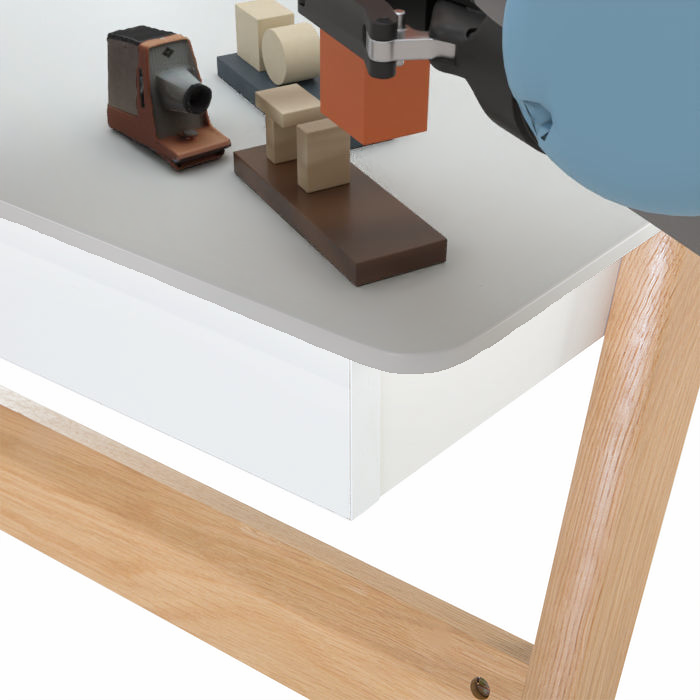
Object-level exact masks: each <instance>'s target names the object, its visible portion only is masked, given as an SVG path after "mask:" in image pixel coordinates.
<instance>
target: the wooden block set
mask: <svg viewBox="0 0 700 700" xmlns="http://www.w3.org/2000/svg"><path fill="white" fill-rule="evenodd" d="M234 15H235V16H234V17H235V35H236V37H235V38H236V52H234V53H228V54H223V55H217V56H216V70H217V76H218V77H219V78H221V79H222V80H223V81H224V82H225V83H227V84H228V85H229V86H230V87H232V88H233V89H234V90H235V91H236V92H238V94H240V95H241V96H242V97H243V98H245V99H246V100H247V101H249V102H250V103H251V104H253V106H255V107H256V104H255V92H257V91H262V90H266V89H271V88H276V87H281V86H286V85H291V84H298V85H299V86H301V87H302V88H303V89H305V90H306V91H307V92H309V93H310V94H311V95H313V96H314V97H315V98H317V99H318V100H319V101H320V35H319V34H318V32H317V30H316V28H315V27H314V25H312V24H311V23H310V22H308V21H305V22H298V23H295V13H294V12H293V11H292V10H290V9H289V8H287V7H286V6H284V5H283V4H281V3H280V2H278V1H276V0H249V1H242V2H237V3H234ZM256 108H257V109H259V108H258V107H256ZM326 118H327V117H326V116H325V119H326ZM363 146H365V145H362V144H361V143H360V142H358V141H357V140H356V139H355V138H353V137H352V136H351V135H350V150H351V149H355V148H359V147H363Z"/></svg>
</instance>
